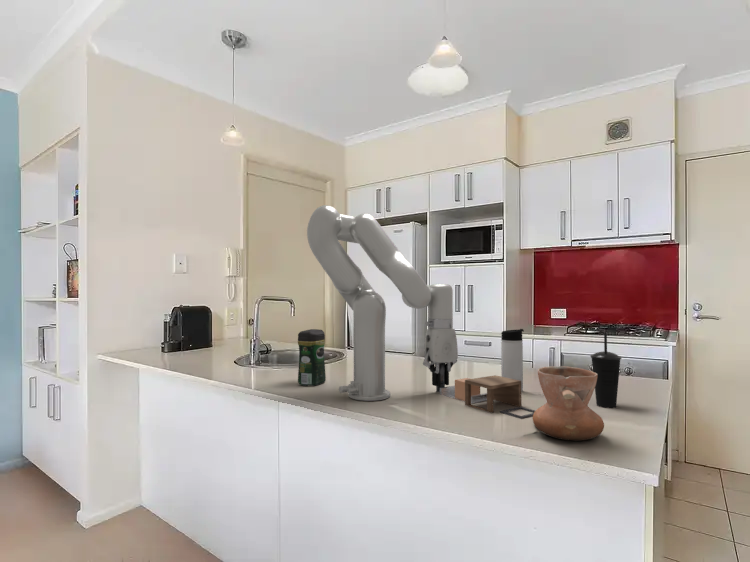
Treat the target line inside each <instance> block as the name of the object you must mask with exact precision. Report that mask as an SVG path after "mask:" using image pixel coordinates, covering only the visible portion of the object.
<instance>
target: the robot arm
mask: <svg viewBox="0 0 750 562" xmlns="http://www.w3.org/2000/svg"><path fill="white" fill-rule="evenodd" d="M306 236H307V241H308V245H309V248H310V251H311V253H312V254H313V256H314V257H315V259H316V260H317V262H318V263H319V264H320V267H321V268H322V269H323V270H324V272H325V273H326V275H327V276H328V277H329V279H330V280H331V282H332V285H333V286H334V288H335V289H336V290H337V291H338V293H339V294H340V295H341V297H342V299H344V301H345V302H346V303H347V305H348V306H349V307H350V309H351V310H352V311H353V312H352V313H353V314H352V315H353V320H352V321H353V326H352V327H353V380H352V381H351V380H350V382H349V384H348V385H340V386H339V387H338V391H339V393H340V394H342V393H347V394H348V397H349V398H350V399H352V400H355V401H365V402H369V401H370V402H373V401H382V400H386V399H389V398H390V397H391V391H390V390H388V389H386V315H387V307H386V303H385V300H384V298H383V297H382V295H380V294H379V293H378V292H376V290H375V289H374V288H373V286H372V285H371V283H369V281H368V280H367V279H366V277H365V276H364V274H363V272H362V270H361V269H360V267H359V265H357V264H356V263H355V262H354V260H353V259H352V258H351V257H350V256H349V254H348V253H347V251H346V249H345V248H344V247H343V245H342V244H341V242H346V243H347V242H348V243H353V244H359V246H360V247H361V248H362V250H363V251H364V252H365V253H366V255H367V257H368V258H369V259H370V260H371V262H372V263H373V264H374V266H375V268H377V269H378V270H379V271H380V272H381V273H382V274H384V275H385V276H386V277H387V278H389V280H390V281H391V282H392V283H393V284H394V286H395V287H396V288H397V290H398V291H399V293H400V294H401V299H402V301H403V303H404V304H405V305H406V306H407V307H408V308H412V309H417V310H420V309H425V308H426V307H427V321H426V322H425V326H426V327H427V329H426V332H425V338H424V348H423V349H424V350H423V354H424V356H423V358H424V359H423V361H422V366H424V367H426V368H428V370H429V372H431V385H432V386H435V387H436V386H438V387H439V386H440V385H441V374H440V373H439V363H445V386H450V372H451V370H452V367H453V366H454V365H455V364H456V363H457V362H458V359H459V354H458V353H459V350H458V341H457V340H458V339H457V333H456V330H455V328H454V327H453V325H454V323H453V322H454V321H453V320H454V319H453V316H454V314H453V313H454V312H453V307H454V306H453V305H454V304H453V303H454V302H453V299H454V298H453V295H454V294H453V291H454V290H453V287H452V285H450V284H446V283H445V284H443V283H441V284H439V283H438V284H437V283H434V284H430V285H427V283H426V281H425V280H424V279H423V277H421V275H420V274H419V272H418V271H417V270H416V269H415V267H414V266H413V265H412V264H411V263H410V261H409V260H407V258H406V257H405V255H404V254H403V253H402V252H401V250H399V248H398V247H397V246H396V245H395V243H394V242H393V241H392V239H391V238H390V236H389V235H388V234H387V232H386V230H384V228H383V227H382V226H381V224H380V223H379V222H378V221H377V219H376V218H375V217H374V216H373V215H372V214H369V213H361V214H358V215H357V216H352V215H348V214H347V215H346V214H342V213H339V211H338V209H336V208H335V207H334V206H332V205H328V204H326V205H321V206H319V207H317V208H316V209H315V210H314V211H313V212H312V214H311V216H310V217H309V220H308V224H307V230H306ZM340 241H341V242H340Z"/></svg>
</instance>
